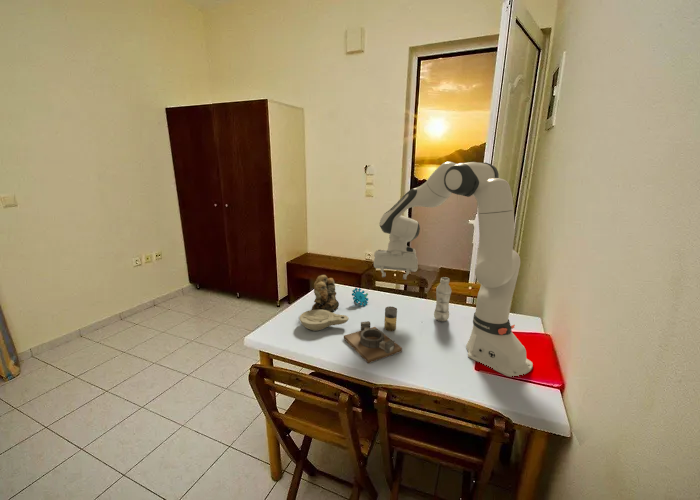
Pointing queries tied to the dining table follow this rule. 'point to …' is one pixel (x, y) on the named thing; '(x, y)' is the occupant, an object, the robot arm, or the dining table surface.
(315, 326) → the oil lamp
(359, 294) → the teal virus model
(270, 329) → the dining table surface
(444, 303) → the plastic bottle
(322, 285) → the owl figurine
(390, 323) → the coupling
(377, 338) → the shaft seat
